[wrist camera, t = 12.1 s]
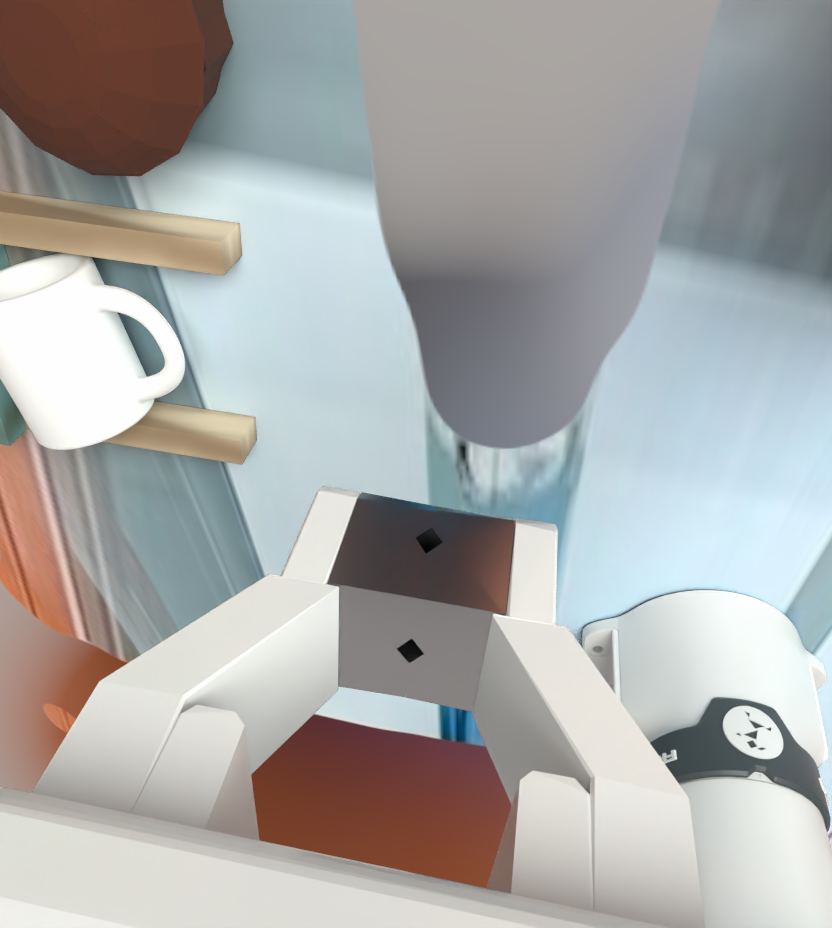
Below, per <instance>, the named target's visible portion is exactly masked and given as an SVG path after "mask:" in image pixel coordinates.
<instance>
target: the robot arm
mask: <svg viewBox="0 0 832 928" xmlns="http://www.w3.org/2000/svg"><path fill="white" fill-rule="evenodd" d="M557 534H558V530H557V528H556V526H555V524H551V523H545V522H538V521H531V520H524V519H517V518H516V519H515V520H514V519H513V518H507V517H500V516H494V515H488V514H481V513H475V512H469V511H462V510H456V509H450V508H444V507H437V506H432V505H426V504H421V503H416V502H410V501H405V500H400V499H395V498H389V497H384V496H379V495H374V494H368V493H363V492H362V493H358V492H354V491H348V490H343V489H338V488H333V487H327V486H323V487H322V488H321V489H320V490H319V491H318V492H317V493H316V495H315V497H314V500H313V502H312V504H311V507H310V509H309V511H308V513H307V516H306V518H305V520H304V523H303V525H302V527H301V530H300V532H299V534H298V537H297V539H296V541H295V543H294V546H293V548H292V550H291V553H290V555H289V557H288V560H287V562H286V564H285V567H284V569H283V571H282V574H281V576H277V575H271V574H268V575H267V576H265V577H264V578H262V579H260V580H259V581H257V582H256V583H254V584H252V585H251V586H249V587H248V588H246V589H245V590H243V591H241V592H240V593H238V594H237V595H235V596H233V597H232V598H230V599H229V600H227V601H226V602H224V603H222V604H221V605H219V606H218V607H216V608H215V609H213V610H211V611H210V612H208V613H207V614H205V615H203V616H202V617H200V618H199V619H197V620H196V621H194V622H192V623H191V624H189V625H188V626H186V627H185V628H183V629H181V630H180V631H178V632H177V633H175V634H173V635H172V636H170V637H169V638H167V639H166V640H164V641H162V642H161V643H159V644H158V645H156V646H155V647H153V648H151V649H150V650H148V651H147V652H145V653H143V654H142V655H140V656H139V657H137V658H136V659H134V660H132V661H131V662H129V663H128V664H126V665H125V666H123V667H122V668H120V669H118V670H117V671H115V672H113V673H112V674H110V675H109V676H107V677H106V678H104V679H102V680H101V681H99V683H98V685H97V686H96V688H95V690H94V691H93V693H92V695H91V696H90V698H89V699H88V701H87V703H86V704H85V706H84V708H83V709H82V711H81V713H80V714H79V716H78V717H77V719H76V721H75V722H74V724H73V726H72V727H71V729H70V731H69V732H68V734H67V736H66V737H65V739H64V741H63V742H62V744H61V745H60V747H59V749H58V750H57V752H56V754H55V755H54V757H53V759H52V760H51V762H50V763H49V765H48V767H47V768H46V770H45V772H44V773H43V775H42V777H41V778H40V780H39V782H38V783H37V785H36V787H35V788H34V790H33V791H32V793H31V792H27V791H22V790H17V789H12V788H8V787H2V786H0V928H832V849H831V845H830V842H829V838H828V834H827V832H828V830H829V827H830V815H829V811H828V798H827V794H826V790H825V786H824V784H823V783H822V780H821V778H820V774H819V771H818V768H819V767H820V765H821V764H822V762H823V761H825V760H826V759H827V755H828V750H827V744H826V739H825V733H824V728H823V723H822V718H821V713H820V708H819V703H818V698H817V693H816V691H817V690H818V689H819V688H820V687H821V686H822V685H823V684H824V683H825V682H826V680H827V677H826V671H825V666H824V665H823V663H822V662H821V661H820V660H818V659H817V658H816V657H815V656H813V655H812V654H811V653H809V652H808V651H807V650H806V649H805V648H804V647H803V645H802V643H801V640H800V637H799V635H798V632H797V630H796V628H795V627H794V625H793V624H792V623H791V621H790V620H789V619H788V618H787V617H786V616H785V615H784V614H782V613H781V612H780V611H779V610H777V609H776V608H774V607H772V606H771V605H769V604H767V603H765V602H763V601H760V600H758V599H755V598H753V597H749V596H746V595H742V594H738V593H733V592H726V591H717V590H694V591H685V592H678V593H673V594H669V595H665V596H662V597H658V598H655V599H653V600H650V601H648V602H646V603H644V604H642V605H640V606H638V607H636V608H635V609H633V610H631V611H629V612H628V613H626V614H624V615H621V616H619V617H615V618H610V619H606V620H601V621H597V622H594V623H591V624H589V625H587V626H586V627H584V629H583V632H582V647H581V645H580V644H579V643H578V641H577V640H576V638H575V637H574V635H573V634H572V633H571V631H570V630H569V628H568V627H563V626H558V625H555V617H556V576H557ZM338 686H340V687H346V688H352V689H358V690H365V691H371V692H377V693H383V694H389V695H395V696H402V697H407V698H412V699H416V700H421V701H425V702H430V703H435V704H439V705H444V706H448V707H453V708H458V709H462V710H467V711H471V712H473V714H472V715H473V718H474V720H475V722H476V725H477V727H478V729H479V731H480V734H481V736H482V738H483V741H484V743H485V745H486V747H487V750H488V752H489V754H490V757H491V759H492V761H493V763H494V766H495V768H496V770H497V772H498V775H499V777H500V779H501V782H502V784H503V786H504V789H505V791H506V793H507V795H508V797H509V799H510V802H511V805H512V807H511V811H510V814H509V817H508V820H507V824H506V827H505V830H504V833H503V837H502V840H501V843H500V846H499V849H498V853H497V856H496V859H495V862H494V866H493V869H492V872H491V875H490V879H489V882H488V885H487V888H486V889H485V888H481V887H476V886H472V885H467V884H463V883H458V882H453V881H448V880H444V879H439V878H434V877H429V876H425V875H420V874H415V873H410V872H406V871H401V870H396V869H392V868H387V867H382V866H377V865H372V864H368V863H363V862H358V861H354V860H349V859H344V858H340V857H335V856H330V855H325V854H321V853H316V852H311V851H306V850H302V849H297V848H291V847H287V846H282V845H277V844H273V843H268V842H264V841H259V834H258V826H257V818H256V810H255V803H254V796H253V787H252V779H251V774H252V773H253V772H254V771H255V770H256V769H257V768H258V767H259V766H260V765H261V764H262V763H263V762H264V761H265V760H266V759H268V758H269V757H270V756H271V755H272V754H273V753H274V752H275V751H276V750H277V749H278V748H279V747H280V746H281V745H282V744H283V743H284V742H285V741H286V740H287V739H288V738H289V737H290V736H291V735H292V734H293V733H294V732H295V731H297V730H298V728H300V727H301V726H302V725H303V724H304V723H305V722H306V721H307V720H308V719H309V718H310V717H311V716H312V715H313V714H314V713H315V712H316V711H317V710H318V709H319V708H320V707H321V706H322V705H324V704H325V703H326V702H327V701H328V700H329V699H330V698H331V697H332V696H333V695H334V694H335V693H336V692H337V691H338Z"/></svg>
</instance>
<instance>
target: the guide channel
mask: <svg viewBox="0 0 832 928" xmlns="http://www.w3.org/2000/svg"><path fill="white" fill-rule="evenodd" d="M4 245H11V246H18V247H25V248H33V249H40V250H47V251H54V252H61V253H68V254H75V255H82V256H89V257H96V258H104V259H111V260H118V261H125V262H132V263H139V264H146V265H153V266H160V267H167V268H175V269H182V270H189V271H196V272H203V273H210V274H217V275H225V274H226V273H227V271H228V270H229V269H230V268H231V267H232V266H233V265H234V264H235V263H236V262H237V261H238V259H239V258H240V257H241V256H242V249H241V236H240V224H239V223H234V222H226V221H219V220H211V219H204V218H196V217H189V216H181V215H174V214H166V213H159V212H152V211H144V210H137V209H129V208H122V207H114V206H107V205H99V204H92V203H84V202H77V201H69V200H62V199H54V198H47V197H40V196H32V195H25V194H17V193H10V192H2V191H0V270H3V269H5V268H8V267H10V264H9V261H8V257H7V254H6V250H5V247H4ZM27 429H29V430H31V429H30V428H29V426H28V424H27V423H26V421H25V419H24V418H23V416H22V414H21V413H20V411H19V409H18V408H17V406H16V404H15V402H14V401H13V399H12V397H11V396H10V394H9V392H8V391H7V389H6V387H5V386H4V384H3V382H2V381H1V379H0V444H4V445H11V444H12V443H13V442H14V441H15V440H16V439H18V438H19V437H20V436H21V435H22V434H23V433H24V432H25V431H26V430H27ZM256 440H257V436H256V423H255V417H251V416H245V415H239V414H232V413H226V412H220V411H213V410H207V409H201V408H194V407H188V406H182V405H175V404H169V403H163V402H156V401H154V402H153V405H152V407H151V408H150V410H149V411H148V412H147V414H146V415H145V416H144V417H143V418H142V419H140V420H139V421H138V422H137V423H136V424H134V425H133V426H131V427H130V428H128V429H127V430H125V431H123V432H122V433H120V434H118V435H116V436H114V437H112V438H109V439H107V440H105V441H102V442H108V443H114V444H120V445H126V446H132V447H138V448H144V449H150V450H157V451H163V452H169V453H175V454H181V455H187V456H193V457H199V458H205V459H211V460H217V461H224V462H230V463H236V464H243V463H244V461H245V459H246V457H247V456H248V454H249V452H250V451H251V449H252V447H253V445H254V444H255V442H256Z"/></svg>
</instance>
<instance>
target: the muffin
mask: <svg viewBox="0 0 832 928" xmlns="http://www.w3.org/2000/svg"><path fill="white" fill-rule="evenodd" d="M232 45H233V40H232V37H231V33H230V30H229V27H228V23H227V20H226V17H225V13H224V8H223V1H222V0H0V108H1V109H2V110H3V111H4V112H5V113H6V114H7V115H8V117H9V118H10V119H11V120H12V121H13V122H14V123H15V124H16V125H17V126H18V127H19V128H20V130H21V131H22V132H23V133H24V134H25V135H26V136H27V137H28V138H29V139H30V140H31V142H32V143H33V144H34V145H35V146H37V147H39V148H41V149H43V150H44V151H46V152H48V153H50V154H52V155H54V156H56V157H58V158H60V159H62V160H64V161H65V162H67V163H69V164H71V165H73V166H75V167H77V168H79V169H82V170H84V171H86V172H88V173H90V174H92V175H114V176H141V175H143V174H145V173H146V172H148V171H150V170H151V169H153V168H155V167H156V166H158V165H160V164H161V163H163V162H165V161H166V160H168V159H170V158H171V157H173V156H175V155H176V154H178V153H179V152H180V150H181V148H182V146H183V144H184V142H185V140H186V138H187V136H188V134H189V132H190V130H191V128H192V126H193V124H194V122H195V120H196V118H197V117H198V115H199V114H200V113H201V112H202V110H203V109H204V108H205V106H206V105H207V104H208V102H209V101H210V100H211V98H212V97H213V96H214V95H215V93H216V90H217V85H218V81H219V77H220V73H221V69H222V66H223V64H224V62H225V60H226V58H227V55H228V53H229V51H230V49H231V47H232Z"/></svg>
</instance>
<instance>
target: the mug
mask: <svg viewBox="0 0 832 928" xmlns="http://www.w3.org/2000/svg"><path fill="white" fill-rule="evenodd" d="M117 312H118V313H122V314H125V315H128V316H130V317H132V318H134V319H136V320H137V321H139V322H140V323H141V324H143V325H144V326H145V327H146V328H147V329H148V330H149V331H150V333H151V334H152V335H153V337H154V338H155V340H156V341H157V343H158V345H159V347H160V349H161V351H162V353H163V355H164V358H165V366H164V368H163V370H162V371H160V372H159V373H157V374H155V375H152V376H148V377H147V376H146V373H145V371H144V369H143V367H142V365H141V363H140V360H139V358H138V356H137V354H136V352H135V350H134V347H133V345H132V343H131V341H130V339H129V337H128V334H127V332H126V330H125V328H124V326H123V324H122V321H121V319H120V317H119V315H118V313H117ZM184 372H185V359H184V354H183V350H182V347H181V345H180V342H179V340H178V338H177V336H176V334H175V333H174V331H173V329H172V328H171V326H170V325H169V323H168V322H167V321H166V319H165V318H164V317H163V316H162V314H161V313H160V312H159V311H158V310H157V309H156V308H155V307H154V306H152V305H151V304H150V303H149V302H148V301H146V300H145V299H143V298H142V297H140V296H139V295H137V294H135V293H133V292H131V291H128V290H126V289H123V288H120V287H115V286H109V285H104V282H103V280H102V278H101V276H100V274H99V272H98V269H97V267H96V265H95V263H94V261H93V259H92V258H91V257H89V256H82V255H75V254H68V253H59V254H53V255H48V256H43V257H39V258H35V259H32V260H28V261H25V262H22V263H19V264H16V265H13V266H10V267H8V268H5V269H3V270H0V379H1V381H2V382H3V384H4V386H5V387H6V389H7V391H8V392H9V394H10V396H11V397H12V399H13V401H14V402H15V404H16V406H17V408H18V409H19V411H20V413H21V414H22V416H23V418H24V419H25V421H26V423H27V424H28V426H29V428H30V429H31V431H32V433H33V434H34V436H35V438H36V439H37V441H38V442H39V443H40V444H41V445H42V446H44V447H46V448H49V449H55V450H70V449H77V448H82V447H86V446H90V445H94V444H97V443H99V442H102V441H105V440H107V439H109V438H112V437H114V436H116V435H118V434H120V433H122V432H123V431H125V430H127V429H128V428H130V427H131V426H133V425H134V424H136V423H137V422H138V421H139V420H140V419H142V418H143V417H144V416H145V415H146V414H147V412H148V411H149V410H150V408H151V407H152V405H153V402H154V399H155V398H159V397H162V396H164V395H166V394H168V393H170V392H171V391H173V390H174V389H175V388H176V387H177V386H178V385H179V384H180V382H181V381H182V378H183V376H184Z"/></svg>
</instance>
